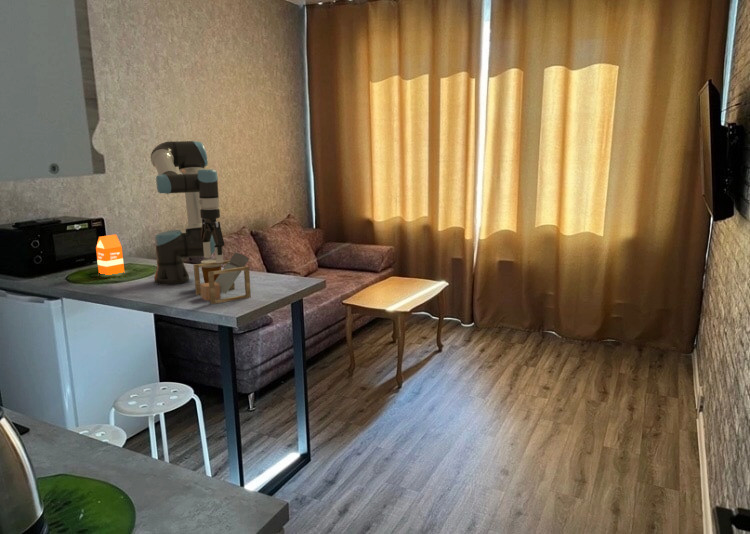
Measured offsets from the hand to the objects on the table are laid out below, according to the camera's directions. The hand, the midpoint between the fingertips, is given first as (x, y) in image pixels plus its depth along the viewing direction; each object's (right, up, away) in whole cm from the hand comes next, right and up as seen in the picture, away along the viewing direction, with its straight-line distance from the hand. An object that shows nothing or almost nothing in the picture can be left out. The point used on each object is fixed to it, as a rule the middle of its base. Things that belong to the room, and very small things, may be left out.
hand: (213, 260), depth 230 cm
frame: (+3, -15, +5) cm, 16 cm away
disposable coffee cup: (-6, -12, +20) cm, 24 cm away
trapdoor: (+6, -6, +6) cm, 10 cm away
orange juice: (-62, -7, +43) cm, 75 cm away
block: (+1, -12, +3) cm, 13 cm away
